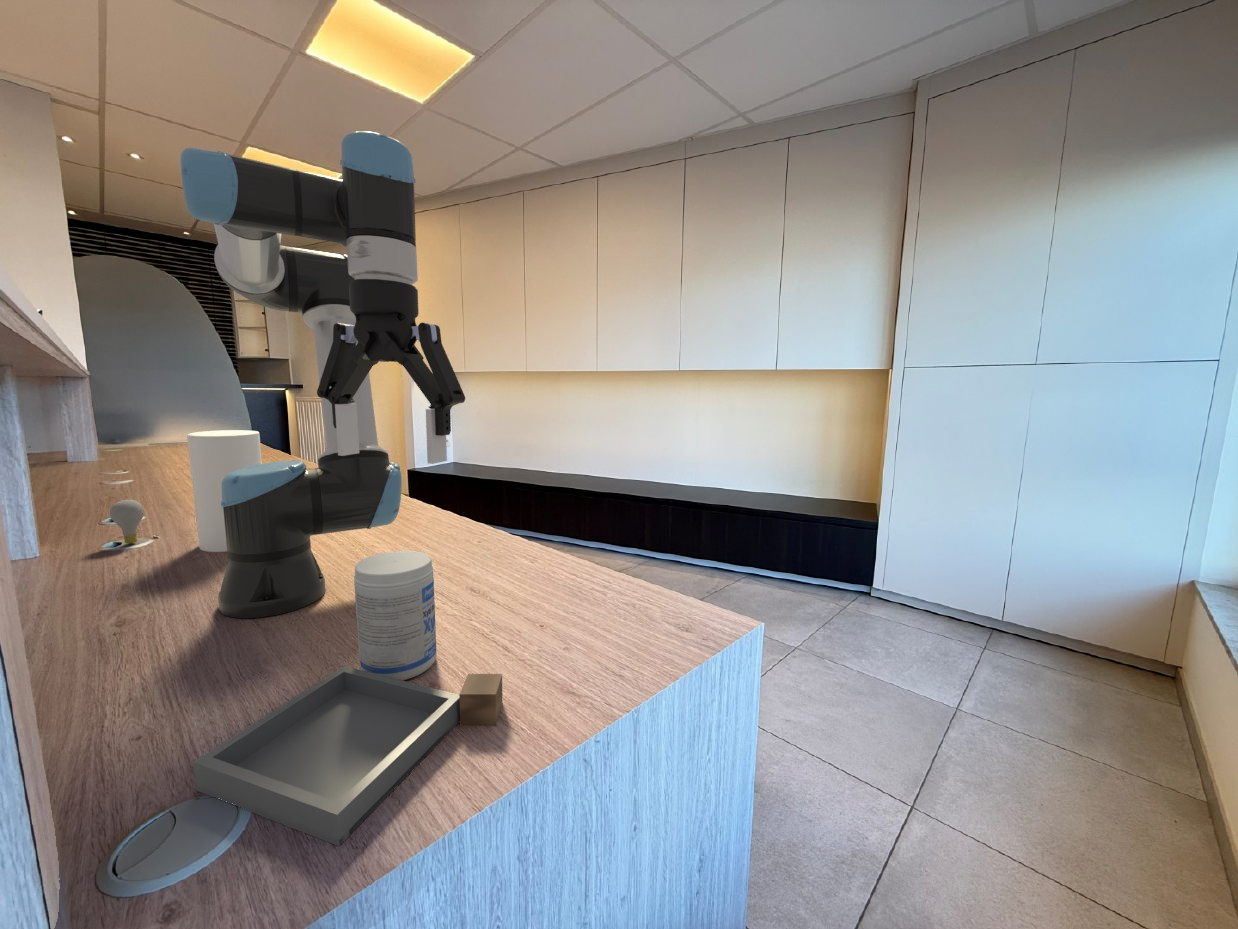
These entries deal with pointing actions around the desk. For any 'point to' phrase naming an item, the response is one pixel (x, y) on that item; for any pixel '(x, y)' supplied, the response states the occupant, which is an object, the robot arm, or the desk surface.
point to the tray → (330, 752)
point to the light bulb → (127, 518)
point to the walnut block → (481, 700)
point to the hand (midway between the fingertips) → (391, 458)
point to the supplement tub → (395, 614)
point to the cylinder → (217, 477)
